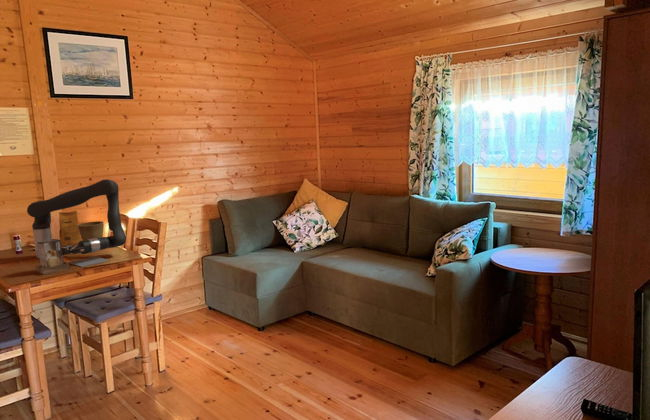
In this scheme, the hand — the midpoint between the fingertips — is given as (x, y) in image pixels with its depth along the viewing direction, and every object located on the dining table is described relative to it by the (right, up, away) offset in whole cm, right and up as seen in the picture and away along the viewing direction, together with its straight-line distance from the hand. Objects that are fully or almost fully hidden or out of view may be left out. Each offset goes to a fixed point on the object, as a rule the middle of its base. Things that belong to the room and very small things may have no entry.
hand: (59, 252), depth 263 cm
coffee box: (-2, -10, -2) cm, 10 cm away
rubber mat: (+10, -7, +13) cm, 17 cm away
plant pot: (-4, -2, +47) cm, 47 cm away
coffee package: (-25, 0, +62) cm, 67 cm away
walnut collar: (-2, -10, -2) cm, 10 cm away
